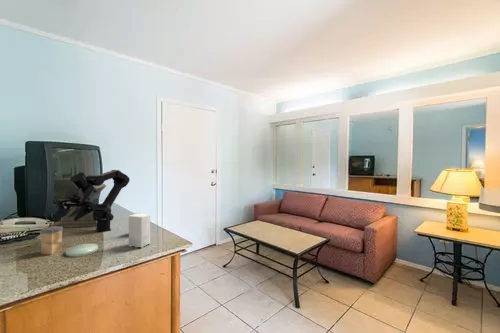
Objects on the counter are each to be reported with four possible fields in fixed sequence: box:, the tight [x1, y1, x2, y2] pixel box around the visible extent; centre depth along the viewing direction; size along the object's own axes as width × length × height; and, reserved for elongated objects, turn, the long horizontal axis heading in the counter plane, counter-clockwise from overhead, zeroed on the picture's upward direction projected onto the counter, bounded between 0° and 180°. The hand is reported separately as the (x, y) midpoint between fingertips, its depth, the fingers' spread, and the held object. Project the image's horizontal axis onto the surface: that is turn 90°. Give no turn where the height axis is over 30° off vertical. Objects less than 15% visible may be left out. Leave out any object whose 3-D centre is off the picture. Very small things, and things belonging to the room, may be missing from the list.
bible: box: [60, 183, 107, 228], centre depth 154 cm, size 23×20×25 cm
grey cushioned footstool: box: [40, 225, 64, 256], centre depth 105 cm, size 5×5×11 cm
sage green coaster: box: [65, 243, 99, 258], centre depth 107 cm, size 12×12×2 cm
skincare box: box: [128, 212, 151, 248], centre depth 116 cm, size 8×7×16 cm
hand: (65, 220), depth 112 cm, fingers open, 9 cm apart
